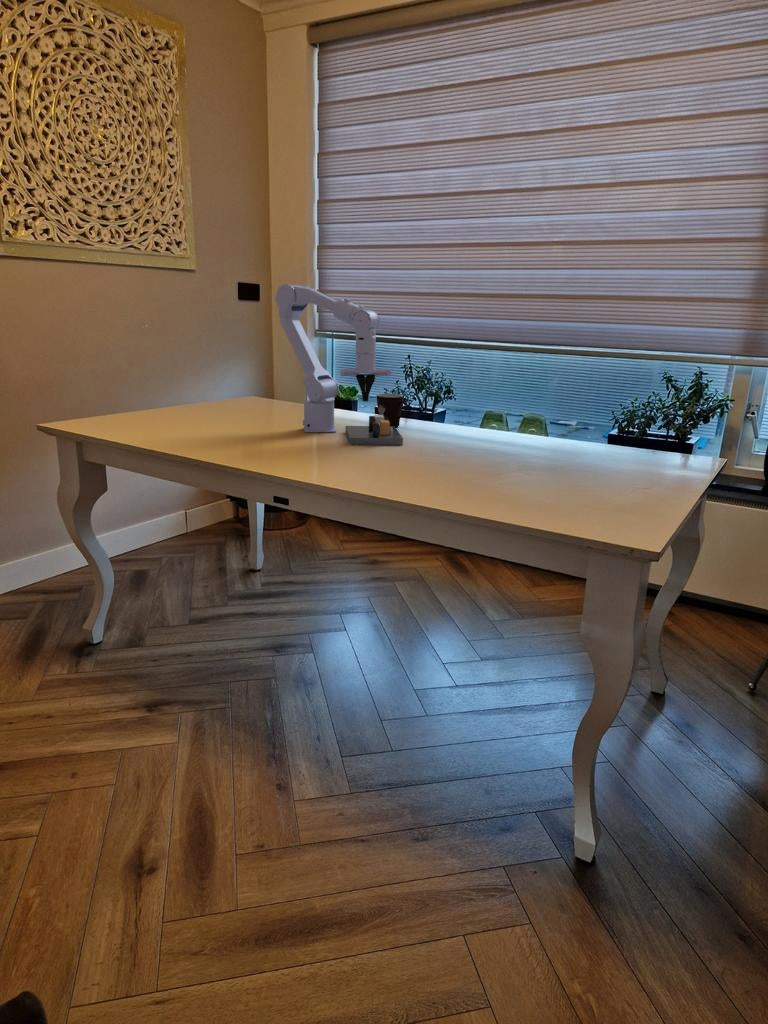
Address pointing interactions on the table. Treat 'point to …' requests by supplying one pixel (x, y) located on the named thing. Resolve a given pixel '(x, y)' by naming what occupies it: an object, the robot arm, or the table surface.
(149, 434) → the table surface
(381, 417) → the toggle white
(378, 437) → the panel
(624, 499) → the table surface
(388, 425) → the toggle orange
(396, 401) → the coffee mug
